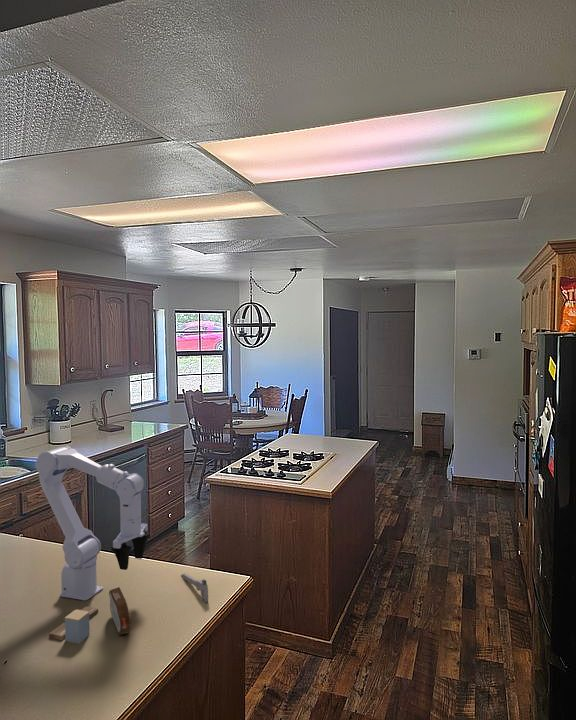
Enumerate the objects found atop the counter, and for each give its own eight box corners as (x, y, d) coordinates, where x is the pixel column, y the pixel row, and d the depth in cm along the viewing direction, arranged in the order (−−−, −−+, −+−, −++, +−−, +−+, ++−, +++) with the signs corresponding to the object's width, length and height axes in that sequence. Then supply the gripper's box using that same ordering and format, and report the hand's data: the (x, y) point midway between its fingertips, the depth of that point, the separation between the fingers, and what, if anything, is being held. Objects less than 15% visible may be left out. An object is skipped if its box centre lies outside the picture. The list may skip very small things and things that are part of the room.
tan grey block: (65, 641, 130) (64, 617, 129) (76, 632, 134) (75, 609, 133) (78, 643, 128) (78, 619, 128) (89, 634, 132) (89, 611, 132)
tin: (131, 638, 131) (131, 605, 130) (118, 642, 129) (118, 608, 129) (119, 611, 144) (119, 581, 143) (107, 614, 142) (107, 584, 142)
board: (49, 637, 131) (48, 633, 131) (85, 609, 144) (85, 606, 144) (62, 640, 130) (62, 635, 130) (98, 612, 143) (98, 608, 143)
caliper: (208, 603, 148) (208, 581, 148) (204, 604, 148) (204, 582, 148) (184, 575, 166) (183, 556, 166) (180, 576, 165) (180, 557, 165)
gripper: (128, 527, 142) (129, 576, 142) (156, 510, 156) (156, 555, 156) (106, 524, 144) (106, 572, 144) (135, 508, 158) (136, 552, 158)
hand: (131, 563), depth 150 cm, fingers open, 7 cm apart
